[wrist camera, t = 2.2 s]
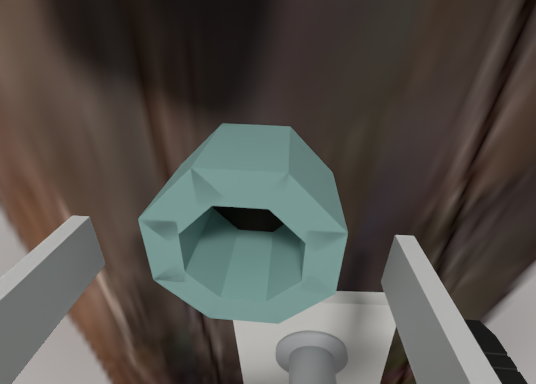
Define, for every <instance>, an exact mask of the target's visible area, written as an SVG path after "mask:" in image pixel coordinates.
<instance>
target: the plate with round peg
mask: <svg viewBox="0 0 536 384" xmlns="http://www.w3.org/2000/svg"><path fill="white" fill-rule="evenodd" d="M233 323H234V329H235V335H236V340H237V346H238V352H239V358H240V364H241V370H242V376H243V382H244V384H380V381H381V378H382V374H383V371H384V367H385V363H386V360H387V356H388V353H389V349H390V346H391V342H392V338H393V335H394V331H395V328H396V324H395V321H394V318H393V315H392V312H391V310H390V307H389V304H388V301H387V298H386V296H385V293H384V292H353V291H336V293H335V295H333V296H331V297H329V298H327V299H325V300H323V301H321V302H319V303H317V304H315V305H313V306H312V307H310V308H308V309H306V310H304V311H302V312H300V313H298V314H296V315H294V316H292V317H290V318H289V319H287V320H285V321H283V322H281V323H279V324H275V323H264V322H252V321H240V320H233Z"/></svg>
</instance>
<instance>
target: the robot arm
mask: <svg viewBox="0 0 536 384" xmlns="http://www.w3.org/2000/svg"><path fill="white" fill-rule="evenodd" d="M105 264H106V263H105V261H104V258H103V255H102V252H101V249H100V246H99V243H98V240H97V237H96V234H95V231H94V228H93V225H92V222H91V219H90V217H88V216H72V217H70V218H69V219H68V220H67V221H66V222H65V223H63V224H62V225H61V226H60V227H59V228H58V229H56V230H55V231H54V232H53V233H52V234H51V235H50V236H48V237H47V238H46V239H45V240H44V241H43V242H41V243H40V244H39V245H38V246H37V247H36V248H34V249H33V250H32V251H31V252H30V253H29V254H27V255H26V256H25V257H24V258H23V259H22V260H21V261H20V262H18V263H17V264H16V265H15V266H14V267H13V268H11V269H10V270H9V271H8V272H7V273H6V274H4V275H3V276H2V277H1V278H0V384H12V382H13V381H14V380H15V379H16V377H17V376H18V375H19V373H20V372H21V371H22V370H23V368H24V367H25V366H26V365H27V363H28V362H29V360H30V359H31V358H32V357H33V355H34V354H35V353H36V352H37V350H38V349H39V348H40V347H41V345H42V344H43V343H44V341H45V340H46V339H47V337H48V336H49V335H50V334H51V333H52V331H53V330H54V329H55V328H56V326H57V325H58V324H59V322H60V321H61V320H62V319H63V317H64V316H65V315H66V313H67V312H68V311H69V310H70V308H71V307H72V306H73V305H74V303H75V302H76V301H77V299H78V298H79V297H80V296H81V294H82V293H83V292H84V291H85V289H86V288H87V287H88V285H89V284H90V283H91V282H92V280H93V279H94V278H95V276H96V275H97V274H98V273H99V271H100V270H101V269H102V268H103V266H104V265H105ZM381 284H382V287H383V290H384V293H385V296H386V298H387V301H388V304H389V307H390V310H391V312H392V315H393V318H394V321H395V324H396V327H397V329H398V332H399V335H400V338H401V341H402V343H403V346H404V349H405V352H406V355H407V357H408V360H409V363H410V366H411V369H412V371H413V374H414V377H415V380H416V383H417V384H527V382H526V381H525V379H524V378H523V376H522V375H521V373H520V372H518V371H517V367H516V366H515V364H514V363H513V361H512V360H511V358H510V357H508V356H507V352H506V351H505V349H504V348H503V346H502V345H501V343H500V342H499V340H498V339H497V337H496V336H495V335H494V334H493V333H492V332H491V331H490V330H489V329H488V328H487V327H486V326H484V325H483V324H482V323H481V322H480V321H476V320H464V319H463V318H462V316H461V314H460V313H459V311H458V309H457V308H456V306H455V304H454V303H453V301H452V299H451V298H450V296H449V294H448V293H447V291H446V289H445V287H444V286H443V284H442V282H441V281H440V279H439V277H438V276H437V274H436V272H435V271H434V269H433V267H432V266H431V264H430V262H429V261H428V259H427V257H426V256H425V254H424V252H423V250H422V249H421V247H420V245H419V244H418V242H417V240H416V239H415V237H414V236H406V235H395V237H394V240H393V243H392V247H391V250H390V253H389V256H388V260H387V263H386V266H385V270H384V273H383V276H382V280H381Z"/></svg>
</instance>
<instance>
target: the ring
mask: <svg viewBox="0 0 536 384" xmlns="http://www.w3.org/2000/svg"><path fill="white" fill-rule="evenodd" d="M213 206H225V207H241V208H256V209H269V210H270V211H271V212H272V213H273V214H274V215H275V216H277V217H278V218H279V219H280V220H281V221H282V222H283V223H284V225H282V226H281V227H280V228H278V229H277V230H275V231H274V232H265V231H250V230H238V229H237V228H236V227H235V226H234V225H233V224H231V223H230V222H229V221H228V220H227V219H225V218H224V217H223V216H222V215H221V214H220V213H218V212H217V211H216V210H215V209H214V208H213ZM138 221H139V225H140V229H141V233H142V237H143V241H144V244H145V248H146V252H147V256H148V260H149V264H150V268H151V272H152V276H153V280H154V281H156V282H157V283H159V284H160V285H162V286H163V287H165V288H166V289H168V290H169V291H171V292H172V293H174V294H175V295H177V296H178V297H180V298H181V299H183V300H184V301H185V302H187V303H188V304H190V305H191V306H193V307H194V308H196V309H197V310H199V311H200V312H202V313H203V314H205V315H206V316H208V317H209V318H217V319H228V320H240V321H252V322H264V323H275V324H279V323H281V322H283V321H285V320H287V319H289V318H290V317H292V316H294V315H296V314H298V313H300V312H302V311H304V310H306V309H308V308H310V307H312V306H313V305H315V304H317V303H319V302H321V301H323V300H325V299H327V298H329V297H331V296H333V295H335V293H336V288H337V283H338V279H339V274H340V269H341V264H342V259H343V255H344V250H345V245H346V240H347V235H348V231H347V227H346V223H345V219H344V216H343V212H342V208H341V204H340V200H339V196H338V192H337V188H336V184H335V180H334V176H333V173H332V171H331V170H330V169H329V168H328V167H327V166H326V165H325V164H324V163H323V162H322V161H321V159H320V158H319V157H318V156H317V155H316V154H315V153H314V152H313V151H312V150H311V149H310V147H309V146H308V145H307V144H306V143H305V142H304V141H303V140H302V139H301V138H300V137H299V135H298V134H297V133H296V132H295V131H294V130H293V129H292V128H291V127H290V126H270V125H248V124H227V123H222V124H221V125H220V126H219V127H218V128H217V129H216V130H215V131H214V132H213V133H212V134H211V135H210V136H209V137H208V138H207V139H206V140H205V141H204V142H203V143H202V144H201V145H200V146H199V147H198V148H197V149H196V150H195V151H194V152H193V153H192V154H191V155H190V156H189V157H188V158H187V159H186V160H185V161H184V162H183V163H182V164H181V166H180V167H179V168H178V169H177V171H176V172H175V173H174V174H173V176H172V177H171V178H170V179H169V181H168V182H167V183H166V184H165V186H164V187H163V188H162V190H161V191H160V192H159V193H158V195H157V196H156V197H155V198H154V200H153V201H152V202H151V203H150V205H149V206H148V207H147V208H146V210H145V211H144V212H143V214H142V215H141V216H140V217H139V219H138Z"/></svg>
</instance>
